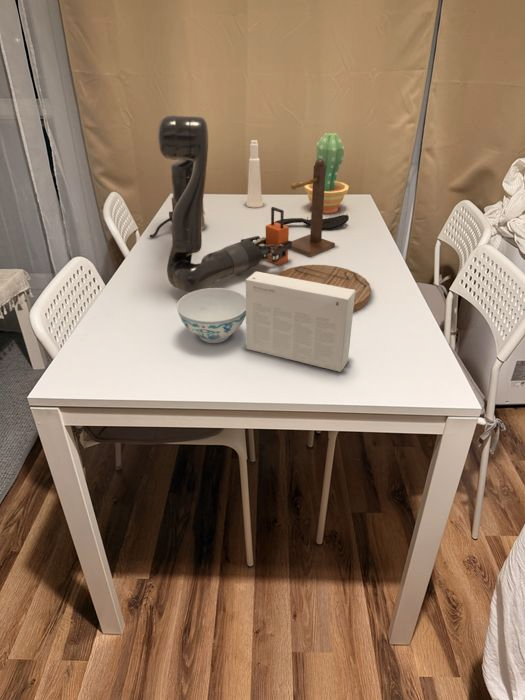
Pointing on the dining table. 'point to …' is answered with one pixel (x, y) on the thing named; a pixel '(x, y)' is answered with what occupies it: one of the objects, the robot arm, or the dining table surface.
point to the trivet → (333, 279)
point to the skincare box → (299, 320)
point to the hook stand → (314, 215)
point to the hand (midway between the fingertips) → (283, 241)
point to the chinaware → (212, 313)
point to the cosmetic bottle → (254, 178)
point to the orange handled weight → (277, 234)
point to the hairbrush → (326, 224)
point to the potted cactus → (330, 172)
